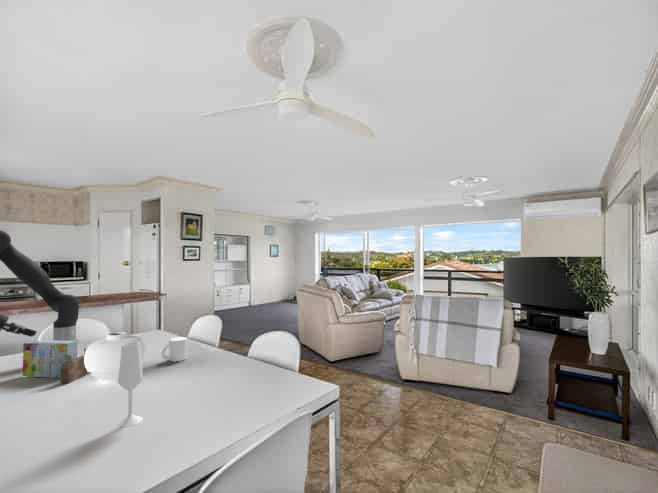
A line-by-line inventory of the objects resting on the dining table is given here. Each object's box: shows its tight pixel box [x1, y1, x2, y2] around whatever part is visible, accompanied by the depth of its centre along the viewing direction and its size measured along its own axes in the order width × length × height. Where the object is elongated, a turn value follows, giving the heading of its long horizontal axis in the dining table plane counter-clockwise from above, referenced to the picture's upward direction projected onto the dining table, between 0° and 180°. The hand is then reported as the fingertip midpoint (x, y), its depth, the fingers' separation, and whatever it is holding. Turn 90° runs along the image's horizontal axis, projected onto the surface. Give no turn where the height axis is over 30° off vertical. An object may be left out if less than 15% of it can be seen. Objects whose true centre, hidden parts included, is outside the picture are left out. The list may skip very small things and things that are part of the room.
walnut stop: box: [60, 347, 90, 385], centre depth 148 cm, size 15×3×11 cm, turn 179°
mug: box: [161, 336, 188, 363], centre depth 171 cm, size 8×10×12 cm
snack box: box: [22, 340, 76, 379], centre depth 150 cm, size 21×6×15 cm, turn 84°
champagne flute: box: [117, 341, 144, 428], centre depth 107 cm, size 7×7×24 cm
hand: (34, 334), depth 152 cm, fingers open, 8 cm apart
